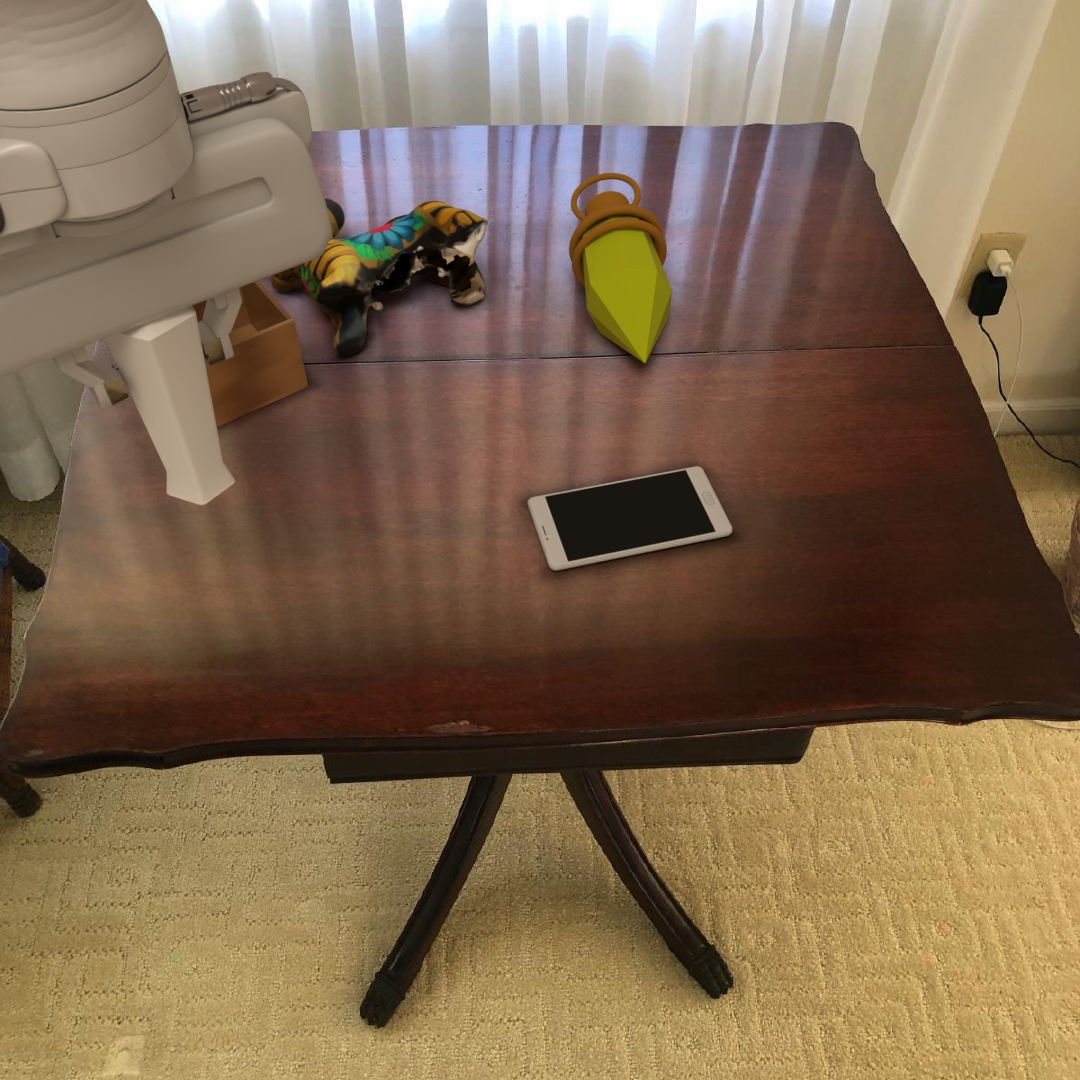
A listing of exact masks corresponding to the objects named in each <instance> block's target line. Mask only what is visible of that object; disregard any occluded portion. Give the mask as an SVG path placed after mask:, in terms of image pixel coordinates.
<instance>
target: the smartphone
mask: <svg viewBox="0 0 1080 1080" xmlns="http://www.w3.org/2000/svg"><path fill="white" fill-rule="evenodd" d="M527 506H528V510H529V513H530V515H531V518H532V522H533V524H534V528H535V530H536V534H537V536H538V538H539V542H540V544H541V549H542V550H543V553H544V556H545V559H546V562H547V565H548V567H549V568H550V569H551V570H552V571H557V572H558V571H562V570H568V569H573V568H578V567H584V566H588V565H592V564H596V563H602V562H603V563H604V562H607V561H612V560H617V559H621V558H622V559H623V558H627V557H632V556H637V555H642V554H648V553H651V552H657V551H661V550H666V549H672V548H676V547H681V546H685V545H686V546H687V545H692V544H697V543H700V542H705V541H706V542H707V541H711V540H715V539H721V538H726V537H728V536H730V535H731V534H732V533H733V525H732V524H731V522H730V520H729V518H728V516H727V514H726V513H725V510H724V507H723V506H722V504H721V502H720V500H719V498H718V496H717V494H716V492H715V491H714V488H713V486H712V484H711V482H710V480H709V478H708V476H707V474H706V472H705V470H704V469H703V468H702V467H701V466H698V465H696V466H690V467H684V468H679V469H675V470H669V471H664V472H659V473H658V472H657V473H653V474H647V475H642V476H637V477H631V478H627V479H620V480H616V481H610V482H606V483H600V484H595V485H589V486H584V487H578V488H574V489H569V490H568V489H567V490H563V491H558V492H552V493H547V494H542V495H537V496H531V497H530V498H528V500H527Z"/></svg>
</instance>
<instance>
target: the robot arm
mask: <svg viewBox="0 0 1080 1080" xmlns="http://www.w3.org/2000/svg"><path fill="white" fill-rule="evenodd" d="M277 88H280V89H277ZM312 140H313V129H312V122H311V116H310V109H309V103H308V101H307V98H306V96H305V94H304V92H303V90H302V89H301V88H300V87H299V86H298V85H297V84H296V83H294V82H292V81H291V80H289V79H287V78H282V77H274V76H273V75H272V74H271V72H269V71H259V72H258V71H257V72H252V73H249V74H246V75H244V76H241V77H240V79H238V80H234V81H230V82H227V83H221V84H213V85H212V84H211V85H209V86H203V87H200V88H197V89H193V90H189V91H186V92H182V93H180V89H179V85H178V82H177V77H176V73H175V70H174V66H173V62H172V59H171V55H170V52H169V47H168V44H167V39H166V36H165V33H164V29H163V27H162V24H161V23H160V21H159V18H158V17H157V15H156V12H155V11H154V10H153V7H151V5H150V3H149V1H148V0H0V379H1V378H4V377H7V376H10V375H12V374H14V373H17V372H20V371H23V370H26V369H28V368H30V367H33V366H36V365H38V364H41V363H44V362H47V361H49V360H52V361H53V362H54V364H55V365H56V366H57V368H58V370H59V372H61V373H63V374H64V375H67V376H68V377H70V378H72V379H73V380H75V381H77V382H79V383H81V384H83V385H84V386H86V387H88V389H89V391H90V392H91V394H92V396H93V399H94V400H95V402H96V403H97V404H98V406H99V407H100V409H101V410H102V411H103V410H107V409H110V408H112V407H114V406H116V405H118V404H122V403H124V402H126V401H129V400H131V397H130V396H131V395H130V392H129V391H128V389H126V384H125V382H124V379H123V377H122V375H121V373H120V371H119V369H118V368H116V367H115V365H114V363H113V362H112V361H111V358H109V356H107V357H105V358H102V359H100V360H96V361H93V362H92V361H91V360H90V359H89V357H88V355H87V353H86V350H85V348H84V347H86V346H89V345H91V344H93V343H96V342H97V343H98V342H100V341H102V340H105V338H107V337H110V336H112V335H115V334H118V333H120V332H123V331H126V330H128V329H131V328H134V327H136V326H139V325H142V324H144V323H147V322H150V321H152V320H155V319H158V318H160V317H163V316H166V315H168V314H171V313H173V312H176V311H179V310H181V309H184V308H187V307H189V306H192V305H195V304H197V303H200V302H202V301H205V300H207V303H206V307H205V311H204V315H203V319H202V321H200V322H198V327H199V332H200V338H201V343H202V349H203V354H204V360H205V364H206V365H207V366H208V367H209V366H211V365H214V364H217V363H219V362H222V361H225V360H227V359H230V358H232V357H234V352H233V348H232V345H231V341H230V337H229V333H231V331H232V328H233V325H234V323H235V320H236V317H237V315H238V312H239V309H240V307H241V304H242V298H241V294H240V290H239V288H240V287H242V286H245V285H248V284H250V283H253V282H255V281H261V280H263V279H266V278H269V277H271V275H274V274H277V273H279V272H282V271H285V270H287V269H290V268H293V267H295V266H298V265H301V264H303V263H306V262H309V261H311V260H314V259H316V258H318V257H320V256H321V255H322V254H323V253H324V251H325V249H326V247H327V245H328V243H329V241H330V238H331V236H332V228H331V223H330V218H329V214H328V210H327V206H326V202H325V194H324V190H323V188H322V185H321V182H320V178H319V176H318V172H317V170H316V168H315V165H314V162H313V159H312V157H311V155H310V152H309V149H310V147H311V144H312Z"/></svg>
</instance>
